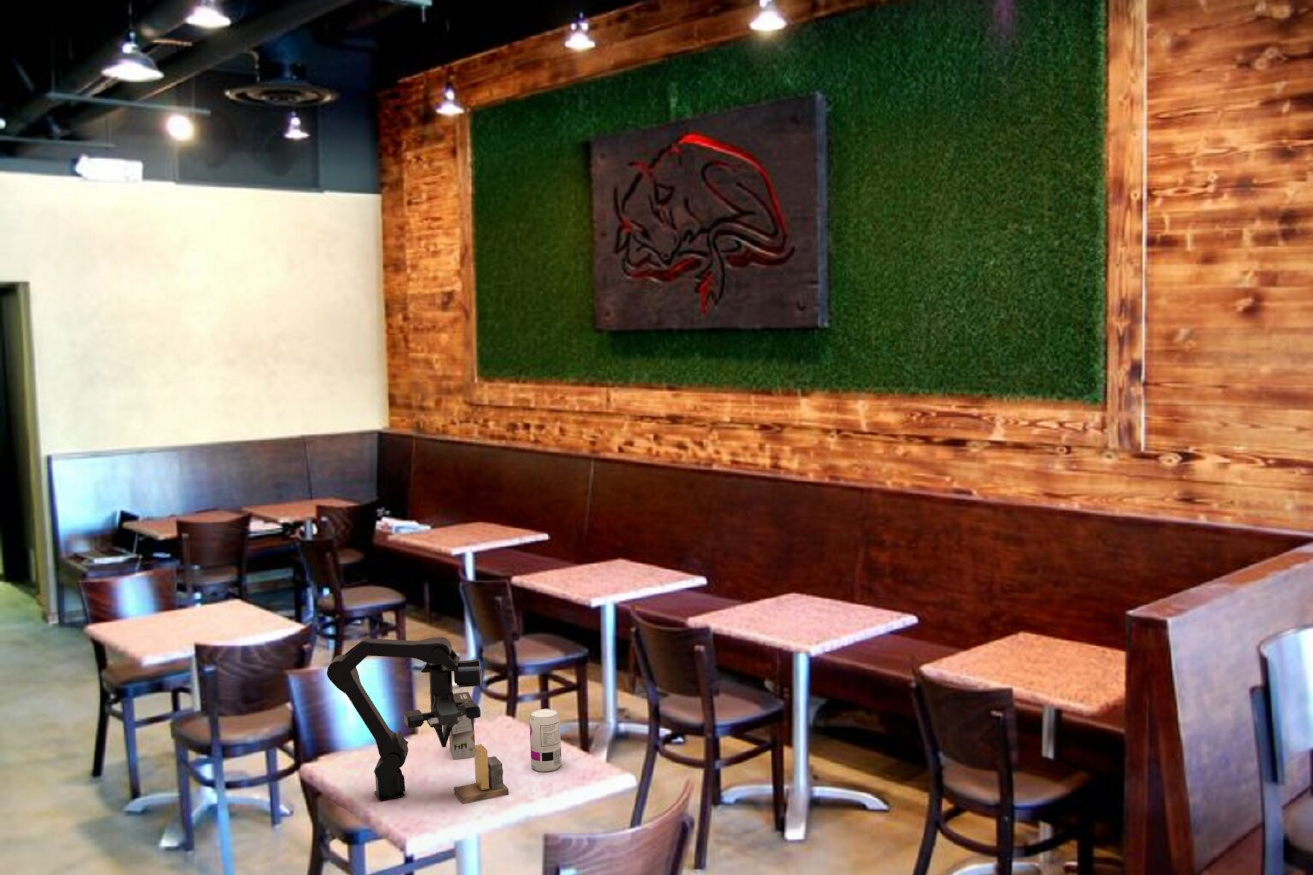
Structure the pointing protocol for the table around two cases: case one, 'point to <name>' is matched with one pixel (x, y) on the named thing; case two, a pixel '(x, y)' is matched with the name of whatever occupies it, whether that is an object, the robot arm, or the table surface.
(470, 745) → the coffee box
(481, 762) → the tan wooden tall block
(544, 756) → the supplement can
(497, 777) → the peg insertion fixture
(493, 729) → the table surface
